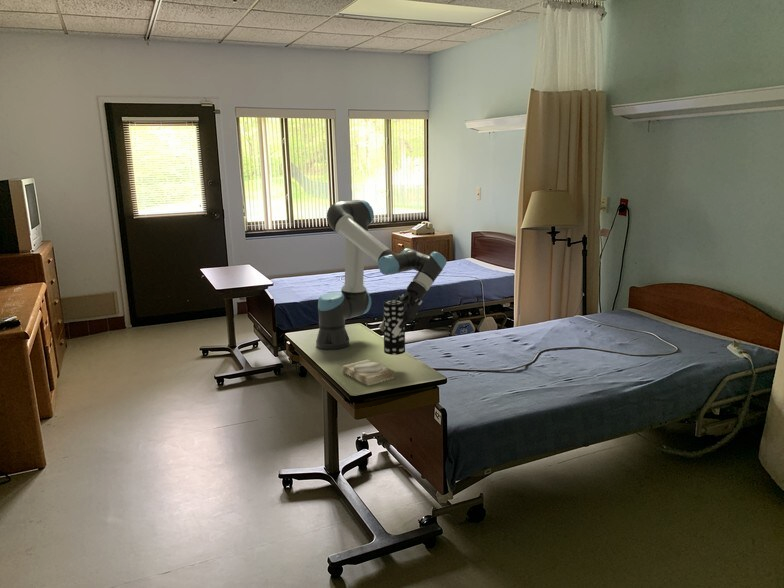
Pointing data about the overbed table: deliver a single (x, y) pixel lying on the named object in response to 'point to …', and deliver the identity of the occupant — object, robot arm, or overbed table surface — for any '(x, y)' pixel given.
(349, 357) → the overbed table surface
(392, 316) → the spotted tube
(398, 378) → the overbed table surface
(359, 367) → the plinth
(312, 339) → the overbed table surface
